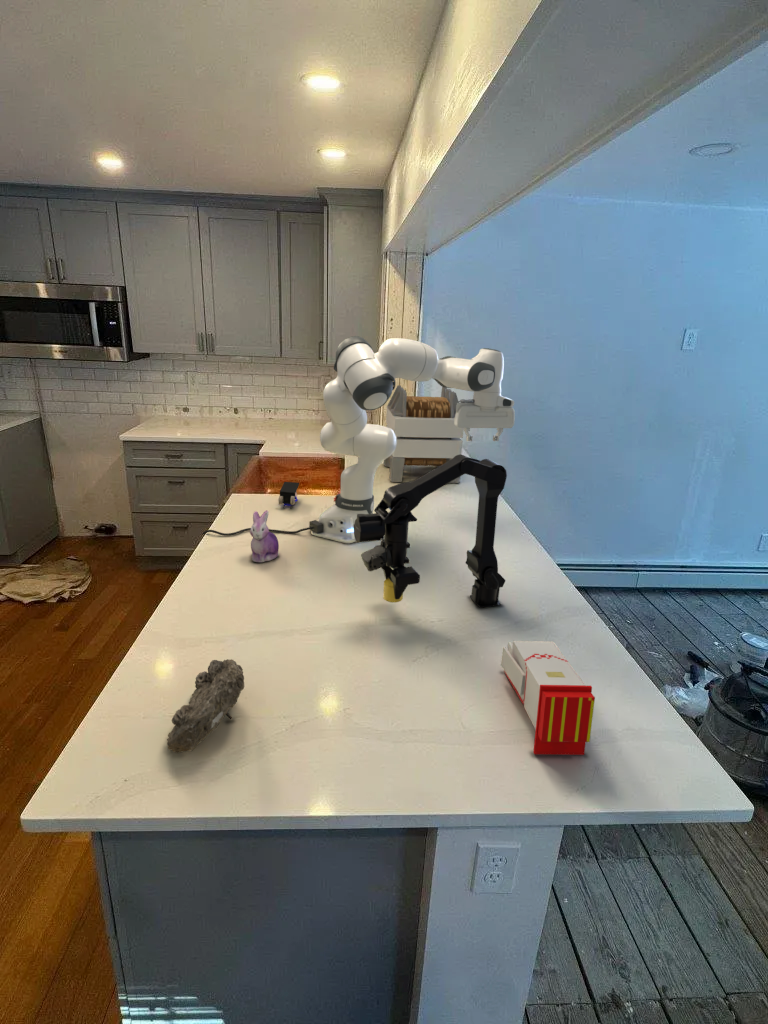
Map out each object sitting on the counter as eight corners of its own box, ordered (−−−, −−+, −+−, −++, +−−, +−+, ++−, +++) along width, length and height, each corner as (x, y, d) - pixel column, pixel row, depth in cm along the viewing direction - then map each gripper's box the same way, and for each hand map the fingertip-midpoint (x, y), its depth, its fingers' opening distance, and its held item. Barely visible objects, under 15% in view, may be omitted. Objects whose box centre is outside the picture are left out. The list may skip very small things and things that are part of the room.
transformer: (382, 463, 289) (386, 382, 275) (445, 464, 293) (451, 384, 279) (390, 482, 257) (394, 392, 243) (460, 483, 261) (468, 394, 247)
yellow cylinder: (405, 601, 144) (406, 586, 142) (385, 603, 143) (386, 587, 141) (399, 592, 148) (400, 577, 147) (381, 593, 147) (381, 578, 146)
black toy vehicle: (295, 514, 218) (300, 497, 231) (295, 496, 214) (299, 480, 228) (278, 513, 217) (283, 497, 231) (277, 495, 214) (283, 480, 227)
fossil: (192, 660, 117) (244, 628, 112) (224, 691, 120) (276, 661, 115) (142, 746, 98) (202, 712, 93) (182, 779, 101) (242, 748, 96)
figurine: (254, 565, 170) (252, 519, 165) (245, 552, 179) (243, 508, 174) (284, 560, 175) (283, 515, 169) (274, 548, 183) (273, 504, 178)
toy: (549, 624, 127) (604, 693, 98) (544, 678, 130) (596, 762, 100) (496, 622, 127) (535, 692, 97) (491, 677, 129) (528, 761, 100)
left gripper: (459, 400, 181) (455, 443, 186) (519, 401, 185) (513, 443, 190) (453, 397, 187) (450, 438, 192) (511, 398, 191) (506, 438, 196)
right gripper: (353, 527, 145) (352, 581, 151) (377, 556, 129) (375, 616, 134) (394, 523, 149) (392, 576, 154) (422, 551, 133) (418, 610, 138)
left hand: (482, 440), depth 191 cm, fingers open, 8 cm apart
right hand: (393, 594), depth 145 cm, fingers closed on yellow cylinder, 5 cm apart
